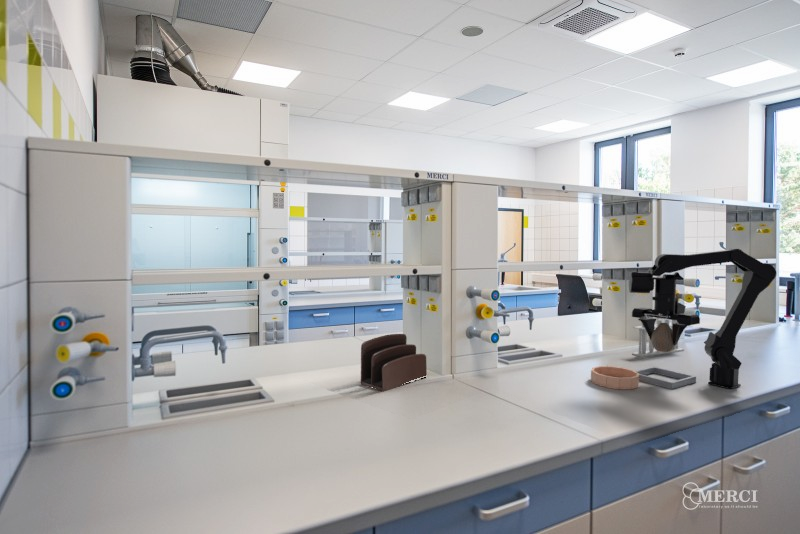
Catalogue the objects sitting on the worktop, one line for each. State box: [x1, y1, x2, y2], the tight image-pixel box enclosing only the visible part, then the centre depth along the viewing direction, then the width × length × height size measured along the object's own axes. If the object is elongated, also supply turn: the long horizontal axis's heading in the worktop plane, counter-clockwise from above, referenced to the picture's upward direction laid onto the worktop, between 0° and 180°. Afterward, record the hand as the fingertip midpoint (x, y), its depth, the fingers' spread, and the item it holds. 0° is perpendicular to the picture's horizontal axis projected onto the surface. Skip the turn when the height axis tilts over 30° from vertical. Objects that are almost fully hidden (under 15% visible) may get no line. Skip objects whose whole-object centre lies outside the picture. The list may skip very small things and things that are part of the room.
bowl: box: [590, 365, 640, 390], centre depth 149 cm, size 13×13×3 cm
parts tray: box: [634, 366, 697, 390], centre depth 152 cm, size 14×14×2 cm
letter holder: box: [360, 333, 428, 393], centre depth 149 cm, size 10×20×14 cm, turn 136°
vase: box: [651, 322, 675, 352], centre depth 151 cm, size 7×7×9 cm
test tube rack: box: [631, 319, 685, 358], centre depth 190 cm, size 25×4×13 cm, turn 116°
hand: (663, 342), depth 152 cm, fingers closed on vase, 7 cm apart
